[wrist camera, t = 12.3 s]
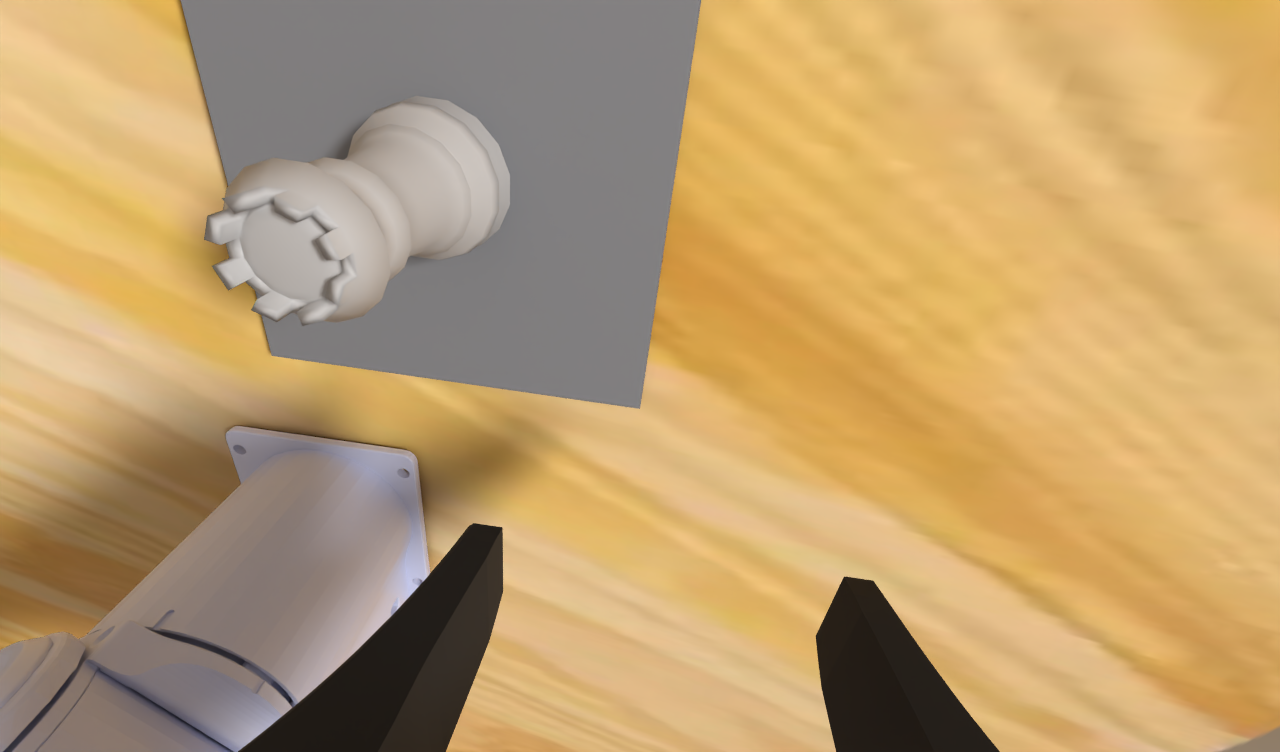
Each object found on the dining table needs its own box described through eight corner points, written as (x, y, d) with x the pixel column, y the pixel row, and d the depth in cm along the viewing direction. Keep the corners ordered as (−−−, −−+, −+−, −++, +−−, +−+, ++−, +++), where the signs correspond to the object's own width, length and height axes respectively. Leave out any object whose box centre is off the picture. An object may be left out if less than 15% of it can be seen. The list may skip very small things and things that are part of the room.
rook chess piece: (499, 88, 15) (350, 119, 9) (527, 244, 18) (426, 366, 11) (350, 100, 16) (94, 137, 9) (395, 250, 18) (218, 372, 11)
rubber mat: (641, 399, 21) (640, 408, 21) (281, 348, 21) (271, 355, 21) (709, -55, 14) (709, -58, 13) (164, -133, 14) (144, -141, 13)
